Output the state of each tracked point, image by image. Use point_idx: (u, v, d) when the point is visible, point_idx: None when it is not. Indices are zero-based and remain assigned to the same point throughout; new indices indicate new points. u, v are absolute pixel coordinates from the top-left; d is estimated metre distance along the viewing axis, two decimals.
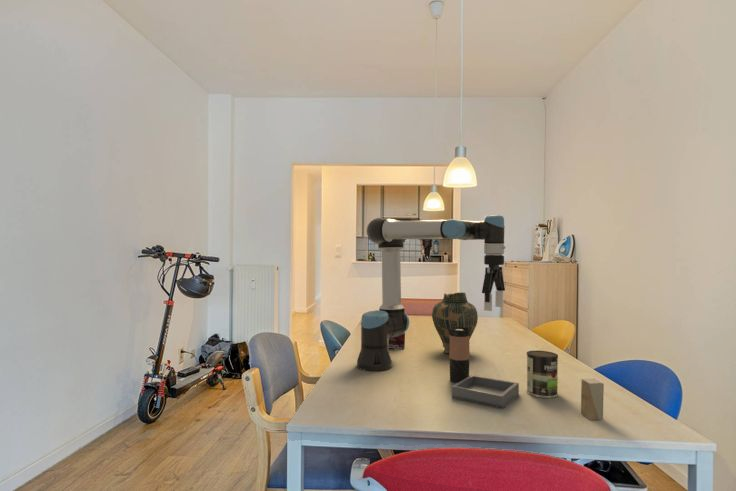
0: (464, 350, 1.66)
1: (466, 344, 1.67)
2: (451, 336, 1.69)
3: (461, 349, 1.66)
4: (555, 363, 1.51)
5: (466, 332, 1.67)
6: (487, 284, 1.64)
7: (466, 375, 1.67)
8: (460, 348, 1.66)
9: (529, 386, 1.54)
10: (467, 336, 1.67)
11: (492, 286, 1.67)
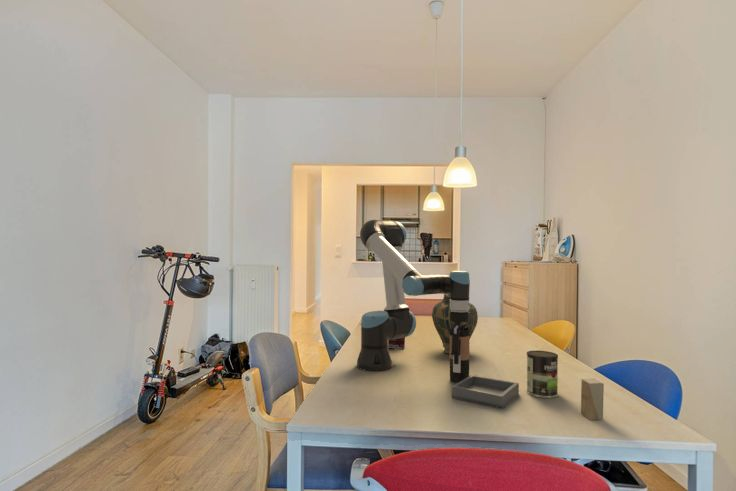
0: (464, 350, 1.66)
1: (466, 344, 1.67)
2: (451, 336, 1.69)
3: (461, 349, 1.66)
4: (555, 363, 1.51)
5: (466, 332, 1.67)
6: (455, 346, 1.63)
7: (466, 375, 1.67)
8: (460, 348, 1.66)
9: (529, 386, 1.54)
10: (467, 336, 1.67)
11: None
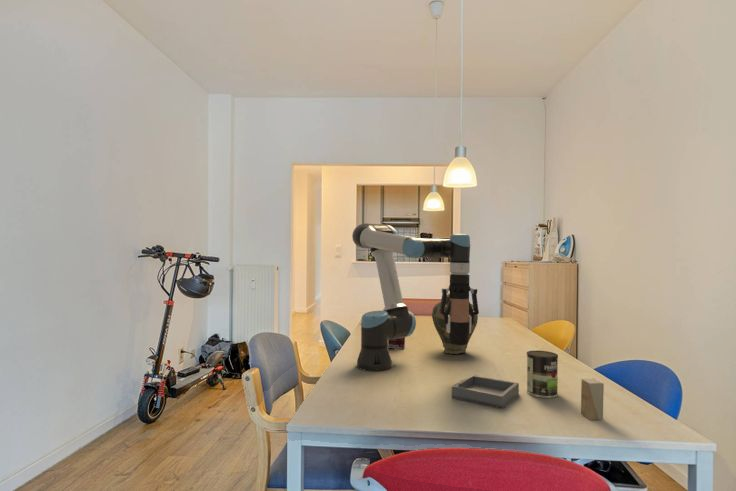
0: (454, 312, 1.67)
1: (456, 306, 1.67)
2: None
3: (451, 310, 1.68)
4: (555, 363, 1.51)
5: (456, 294, 1.67)
6: (441, 306, 1.70)
7: (456, 337, 1.67)
8: None
9: (529, 386, 1.54)
10: (458, 299, 1.67)
11: (450, 307, 1.69)
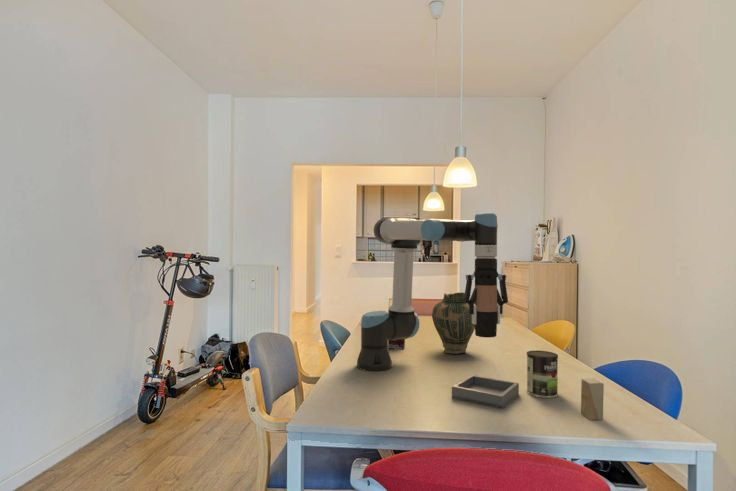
0: (481, 301, 1.49)
1: (483, 294, 1.48)
2: None
3: (477, 299, 1.50)
4: (555, 363, 1.51)
5: (483, 280, 1.49)
6: (465, 294, 1.51)
7: (483, 329, 1.48)
8: None
9: (529, 386, 1.54)
10: (485, 285, 1.48)
11: (476, 295, 1.50)
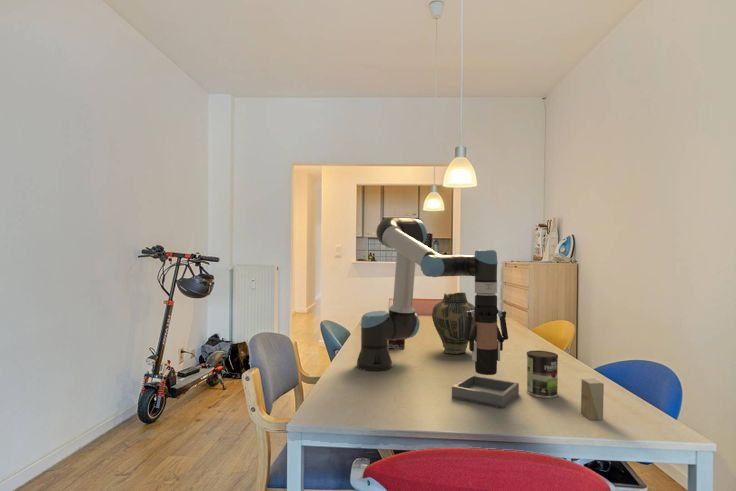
0: (481, 338, 1.49)
1: (483, 331, 1.48)
2: None
3: (477, 336, 1.50)
4: (555, 363, 1.51)
5: (483, 318, 1.48)
6: (466, 331, 1.51)
7: (484, 366, 1.48)
8: None
9: (529, 386, 1.54)
10: (485, 323, 1.48)
11: (476, 332, 1.50)
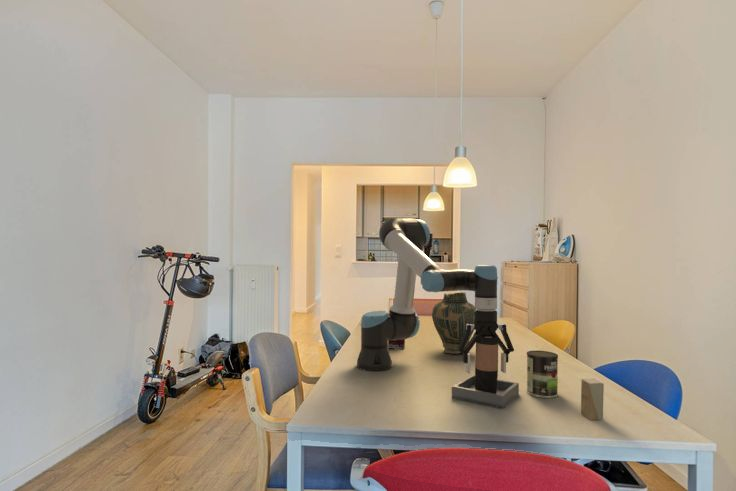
0: (482, 359, 1.48)
1: (484, 353, 1.48)
2: None
3: (478, 357, 1.49)
4: (555, 363, 1.51)
5: (485, 339, 1.48)
6: (461, 343, 1.51)
7: (484, 388, 1.48)
8: (477, 355, 1.50)
9: (529, 386, 1.54)
10: (486, 344, 1.48)
11: (472, 346, 1.50)
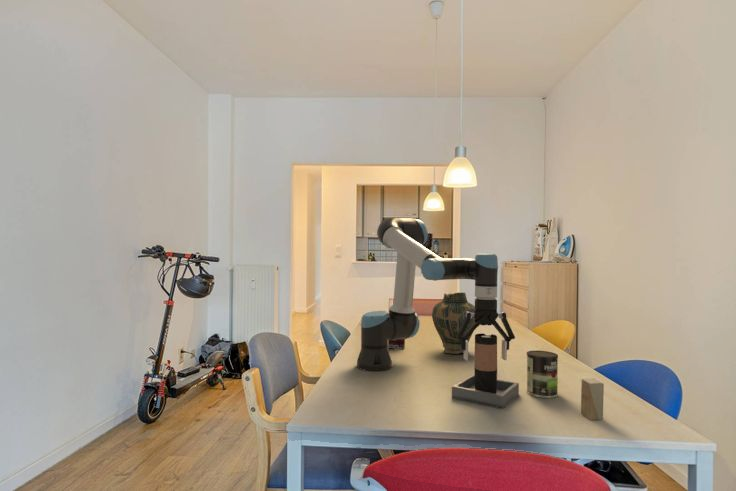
0: (481, 359, 1.49)
1: (483, 353, 1.48)
2: None
3: (477, 357, 1.50)
4: (555, 363, 1.51)
5: (483, 339, 1.48)
6: (460, 330, 1.51)
7: (483, 388, 1.48)
8: (476, 356, 1.50)
9: (529, 386, 1.54)
10: (485, 344, 1.48)
11: (470, 333, 1.50)
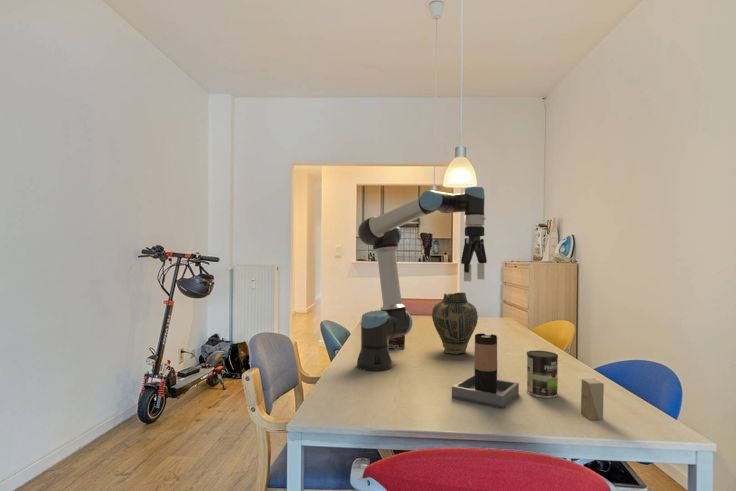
0: (481, 359, 1.49)
1: (483, 353, 1.48)
2: None
3: (477, 357, 1.50)
4: (555, 363, 1.51)
5: (483, 339, 1.48)
6: (465, 254, 1.65)
7: (483, 388, 1.48)
8: (476, 356, 1.50)
9: (529, 386, 1.54)
10: (485, 344, 1.48)
11: (471, 257, 1.67)
